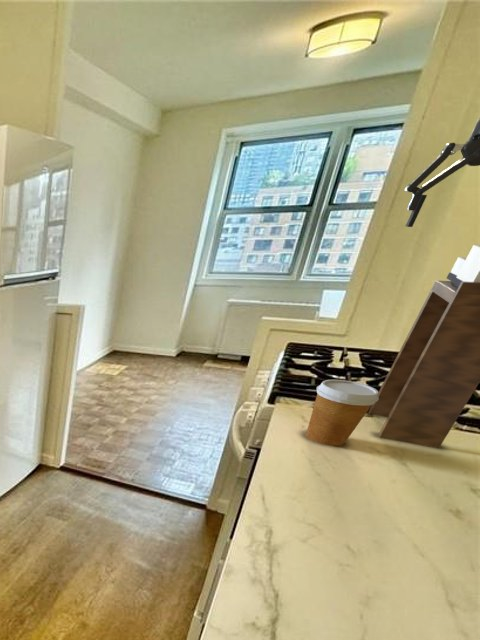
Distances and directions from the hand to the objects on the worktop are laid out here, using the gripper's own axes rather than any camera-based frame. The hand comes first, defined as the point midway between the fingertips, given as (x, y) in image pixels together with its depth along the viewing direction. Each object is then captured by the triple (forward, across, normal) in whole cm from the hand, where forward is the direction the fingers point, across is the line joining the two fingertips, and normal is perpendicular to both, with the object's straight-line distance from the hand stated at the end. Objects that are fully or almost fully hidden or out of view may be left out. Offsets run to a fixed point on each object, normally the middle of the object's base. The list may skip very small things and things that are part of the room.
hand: (450, 227), depth 108 cm
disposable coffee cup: (+39, +12, +43) cm, 59 cm away
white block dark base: (+9, -2, +25) cm, 27 cm away
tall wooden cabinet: (+39, -2, +28) cm, 48 cm away
